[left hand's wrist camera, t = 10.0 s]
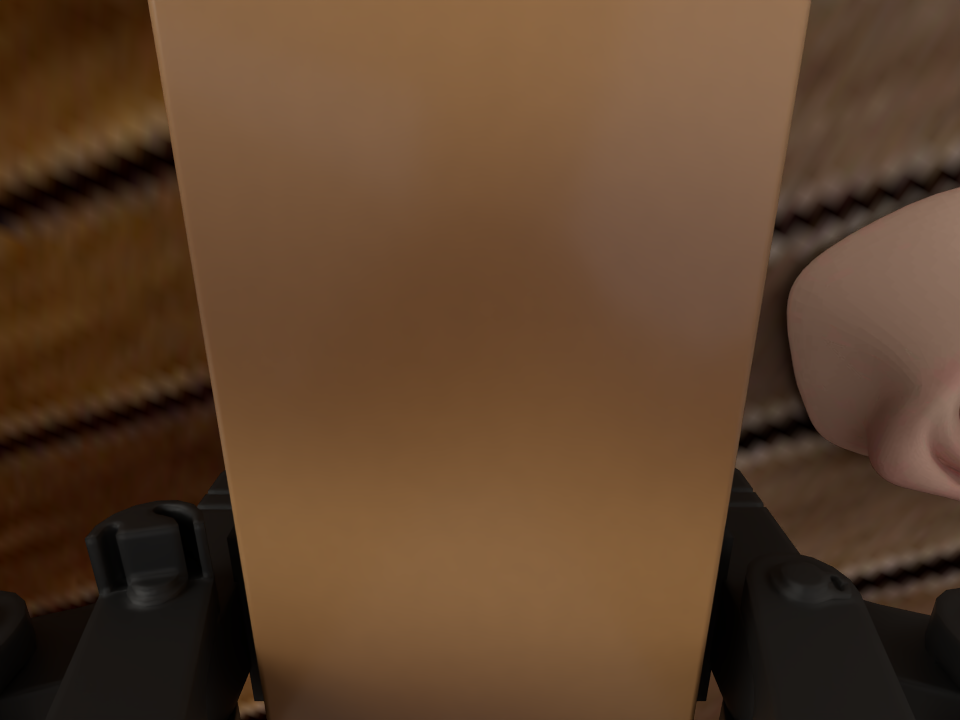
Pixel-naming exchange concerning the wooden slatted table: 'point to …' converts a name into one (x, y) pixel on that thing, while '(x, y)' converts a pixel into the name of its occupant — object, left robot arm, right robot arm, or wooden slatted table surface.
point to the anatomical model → (887, 344)
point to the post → (479, 333)
